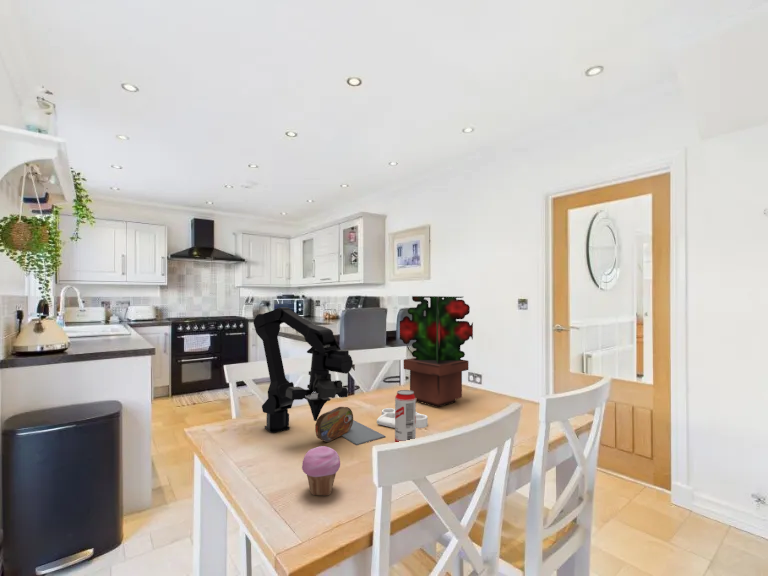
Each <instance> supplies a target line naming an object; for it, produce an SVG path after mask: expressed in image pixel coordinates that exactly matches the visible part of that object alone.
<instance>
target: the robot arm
mask: <svg viewBox="0 0 768 576" xmlns="http://www.w3.org/2000/svg"><path fill="white" fill-rule="evenodd" d="M283 323H284V324H285V325H287V326H288V327H290V328H292V329H293V330H295V331H296V332H298V333H299V334H301V336H303V337H304V340H305V342H307V344H308V346H310V348H309V349H308V350H307V351H306V353H307V354H312V355H311V363H310V364H311V365H310V370H309V371H308V375H309V383H308V384H307V386H306V389H305V388H303V387H301V386H295V385H294V384H295V383H293V381H289V380H288V378H287V377H286V373H285V369H284V363H283V360H282V359H283V358H282V353H281V349H280V343H279V339H278V338H279V334H280V331H281V325H282V324H283ZM253 326H254V329H255V333H256V335H257V336H258V337H259V338H260V339H261V340H262V344H263V348H264V349H263V350H264V355H265V359H266V365H267V370H268V376H269V381H270V382H269V387H268V390H267V399H266V401H264V403H262V405H261V410H262V413H264V414H266V425H264V429H266V431H268V432H269V433H271V434H274V433H278V432H282V431H287V430H290V429H291V428H290V412H289V409H292V407H293V403H294V401H300V400H304V399H305V400H306V401H307V403H308V405H309V408H310V411H311V415H312V417H313V421H314V422H316V421H317V419H318V418H319V417H320V415H321V414H320V413H321V411H322V409H323V407H324V406H325V404H326V403H327V402H329V401H331V400H332V399H334V398H336V395H337V396H338V398H348V397H349V391H348V388H347V387H345V386H343V381H342V380H341V379H340V380H332V374H331V373H330V372H332V373H333V372H334V373H341V374H343V375H344V374H349V373H350V372H351V371H352V367H353V366H354V365H353V361H354V360H353V358H352V356H351V355H350V351H349V350H347V349H343V350H341V347H340V344H339V343H338V341H337V339H336V337H335V336H334V331H333V330H332V329H331V328H328V327H327V326H322V325H319V324H318V325H317V324H314V323H312V322H311V321H309V320H307V319H306V318H304V317H302V316H301V315H300V314H298V313H296V312H295V311H293V310H292V309H291V307H288V306H287V307H285V306H284V307H277V308H274V309H273V310H270V311H267V312H264V313H258V314H257V315H255V318H254V319H253Z"/></svg>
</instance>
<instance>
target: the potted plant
mask: <svg viewBox="0 0 768 576" xmlns="http://www.w3.org/2000/svg"><path fill="white" fill-rule="evenodd" d="M426 298H427V299H426ZM463 298H464V296H444V295H443V296H439V295H438V296H434V295H432V296H431V295H428V296H427V295H426V296H425V295H424V296H423V295H419V296H418V295H412V296H411V299H412V301H413V302H415V303H418V302H419V303H418V304H417V305H416V307H409V308H408V309H407V313H408V314H409V315H411V318H410V316H408V315H405V316H404V317H402V320H400V321H399V340H401V341H402V343H403V344H404V345H409V344H410V342H411V341H414V342H412V343H411V347H412V348H413V349H415V350H413V351H412V352H411V356H412V358H405V359H403V370H408V371H409V390H411V391H413V392H414V395H415V398H416V402H418V401H419V402H418V403H421V402H423V403H422V404H425V403H426V404H425V405H428V404H429V406H433V407H434V408H440V407H442V406H447V405H449V403H450V404H453V403H456V400H458V399H461V398H463V372H465V371H469V360H467V359H466V360H465V359H462V358H464V357H465V355H466V354H465V352H464V351H463V350H461V346H463V345H464V344H465V343H466V342H467V341H468V340H470V338H471V340H473V338H474V334H473V333H474V331H473V330H474V328H473V327H474V325H473V324H474V322H472V323H470V322H469V321H468V320H464V319H465V317H466V316H467V315H470V308H471V306H470V305H469V304H468V303H466V301H465V300H464V299H463ZM428 299H429V300H430V301H428ZM429 305H430V307H429ZM452 402H453V403H452ZM446 404H447V405H446Z"/></svg>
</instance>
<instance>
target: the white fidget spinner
mask: <svg viewBox="0 0 768 576" xmlns="http://www.w3.org/2000/svg"><path fill="white" fill-rule="evenodd" d="M376 424H377V425H379V426H384V427H389V428H391V429H395V408H392V407H387V408H383V409H382V410H381V415H380V416H378V418H377V419H376ZM427 427H428V415H426V414H423V413H419V412H418V411H416V429H417V428H418V429H424V428H427Z"/></svg>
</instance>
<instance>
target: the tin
mask: <svg viewBox="0 0 768 576" xmlns="http://www.w3.org/2000/svg"><path fill="white" fill-rule="evenodd" d="M353 420H354V413H353V411H352V409H351V408H350V407H349V406H338V407H335V408H332V409H331V410H329V411H327V412H324V413H322V414H320V415H319V416H318V418H317V421H315V429H314V431H315V436H316V437H317V439H318V440H320V441H324V442H326V443H330V442H332V441H334V440H335V439H337V438H340V437H342V436H341V435H343V434H345V433H347V432H348V431H349V430H350V428H351V426H352V424H353Z"/></svg>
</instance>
